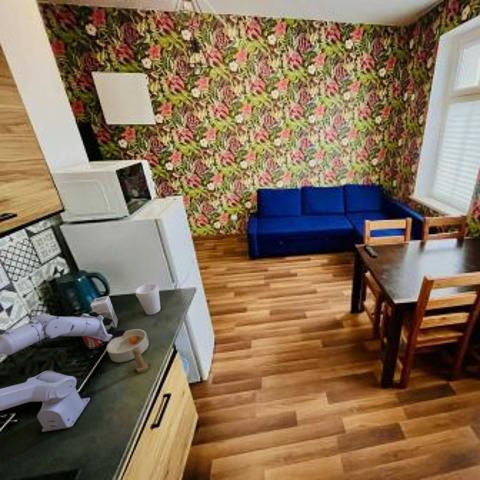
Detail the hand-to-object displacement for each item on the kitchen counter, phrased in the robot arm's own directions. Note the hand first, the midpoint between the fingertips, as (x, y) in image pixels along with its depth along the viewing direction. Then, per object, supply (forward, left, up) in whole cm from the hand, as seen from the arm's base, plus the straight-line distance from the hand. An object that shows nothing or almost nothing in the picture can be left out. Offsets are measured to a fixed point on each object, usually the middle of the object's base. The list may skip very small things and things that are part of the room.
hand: (117, 327), depth 98 cm
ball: (+9, +2, -14) cm, 16 cm away
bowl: (+5, +2, -16) cm, 17 cm away
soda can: (+11, +17, -16) cm, 26 cm away
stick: (-6, -7, -16) cm, 18 cm away
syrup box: (+22, +18, -16) cm, 33 cm away
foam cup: (+31, +3, -16) cm, 35 cm away
